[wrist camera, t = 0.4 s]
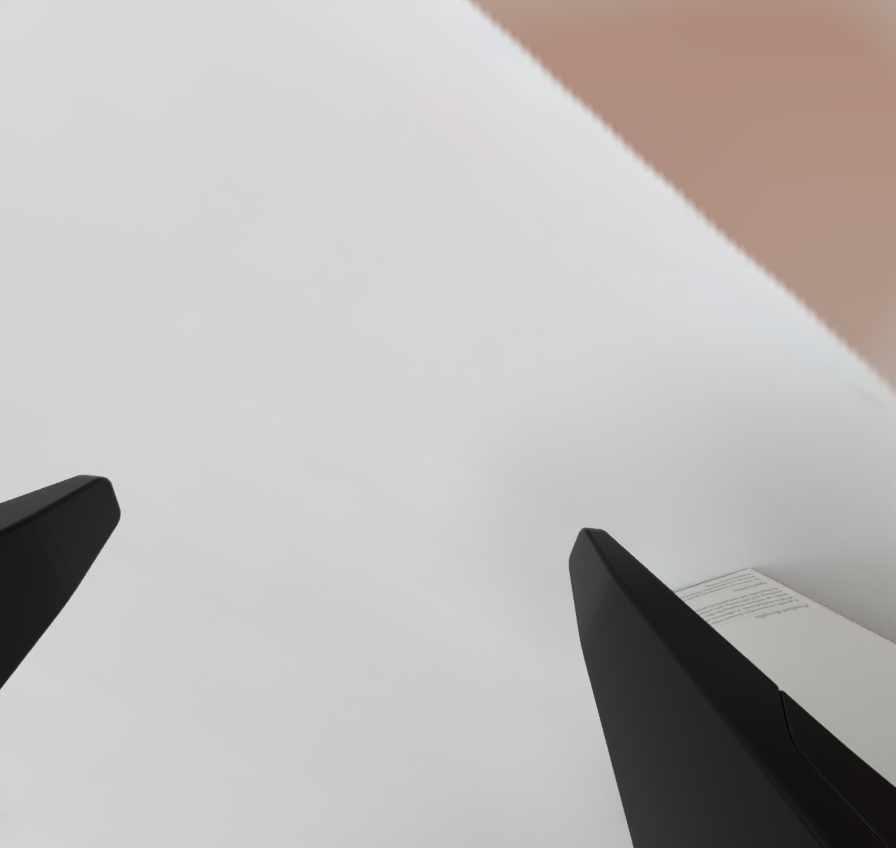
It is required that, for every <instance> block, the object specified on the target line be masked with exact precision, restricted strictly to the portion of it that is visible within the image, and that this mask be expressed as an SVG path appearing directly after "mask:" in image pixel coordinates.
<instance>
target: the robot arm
mask: <svg viewBox="0 0 896 848" xmlns="http://www.w3.org/2000/svg"><path fill="white" fill-rule="evenodd" d="M120 515H121V511H120V507H119V504H118V501H117V498H116V495H115V492H114V489H113V486H112V483H111V481H109V480H108V479H107V478H105V477H102V476H92V475H79V476H75V477H72V478H70V479H67V480H64V481H61V482H59V483H56V484H53V485H50V486H47V487H45V488H42V489H39V490H36V491H33V492H31V493H28V494H25V495H22V496H20V497H17V498H14V499H11V500H8V501H6V502H3V503H0V689H1V688H2V687H3V685H4V684H5V683H6V681H7V680H8V679H9V678H10V676H11V675H12V674H13V672H14V671H15V670H16V669H17V667H18V666H19V665H20V663H21V662H22V661H23V660H24V658H25V657H26V656H27V654H28V653H29V652H30V650H31V649H32V648H33V647H34V645H35V644H36V643H37V641H38V640H39V639H40V638H41V636H42V635H43V634H44V632H45V631H46V630H47V628H48V627H49V626H50V625H51V623H52V622H53V621H54V619H55V618H56V617H57V616H58V614H59V613H60V612H61V610H62V609H63V608H64V606H65V605H66V603H67V602H68V601H69V599H70V598H71V596H72V595H73V593H74V592H75V590H76V589H77V587H78V586H79V584H80V583H81V581H82V580H83V578H84V576H85V575H86V573H87V572H88V570H89V569H90V567H91V565H92V564H93V562H94V561H95V559H96V558H97V556H98V554H99V553H100V551H101V550H102V548H103V547H104V545H105V543H106V542H107V540H108V539H109V537H110V535H111V534H112V532H113V531H114V529H115V528H116V526H117V524H118V522H119V520H120ZM569 572H570V578H571V585H572V591H573V598H574V605H575V611H576V618H577V624H578V631H579V637H580V642H581V647H582V651H583V655H584V659H585V663H586V667H587V671H588V675H589V678H590V682H591V686H592V690H593V694H594V698H595V701H596V705H597V709H598V713H599V717H600V721H601V724H602V728H603V732H604V736H605V740H606V744H607V747H608V751H609V755H610V759H611V763H612V767H613V770H614V774H615V778H616V782H617V786H618V789H619V793H620V797H621V801H622V805H623V809H624V812H625V816H626V820H627V824H628V828H629V832H630V835H631V839H632V843H633V847H634V848H896V787H895V786H894V785H892V784H891V783H890V782H889V781H888V780H886V779H885V778H884V777H883V776H882V775H880V774H879V773H878V772H877V771H876V770H874V769H873V768H872V767H871V766H870V765H868V764H867V763H866V762H865V761H864V760H862V759H861V758H860V757H859V756H858V755H856V754H855V753H854V752H853V751H852V750H850V749H849V748H848V747H847V746H846V745H845V744H844V743H842V742H841V741H840V740H839V739H838V738H837V737H836V736H834V735H833V734H832V733H831V732H830V731H829V730H828V729H826V728H825V727H824V726H823V725H822V724H821V723H819V722H818V721H817V720H816V719H815V718H814V717H813V716H811V715H810V714H809V713H808V712H807V711H806V710H805V709H804V708H802V707H801V706H800V705H799V704H798V703H797V702H796V701H795V700H794V699H792V698H791V697H790V696H789V695H788V694H787V693H786V692H785V691H783V690H779V687H778V686H777V684H775V683H774V682H773V681H772V680H771V679H770V678H769V677H768V676H767V675H765V674H764V673H763V672H762V671H761V670H760V669H759V668H758V667H756V666H755V665H754V664H753V663H752V662H751V661H750V660H749V659H748V658H746V657H745V656H744V655H743V654H742V653H741V652H740V651H739V650H737V649H736V648H735V647H734V646H733V645H732V644H731V643H730V642H729V641H727V640H726V639H725V638H724V637H723V636H722V635H721V634H720V633H718V632H717V631H716V630H715V629H714V628H713V627H712V626H711V625H710V624H708V623H707V622H706V621H705V620H704V619H703V618H702V617H701V616H700V615H698V614H697V613H696V612H695V611H694V610H693V609H692V608H691V607H689V606H688V605H687V604H686V603H685V602H684V601H683V600H682V599H681V598H679V597H678V596H677V595H676V594H675V593H674V592H673V591H672V590H670V589H669V588H668V587H667V586H666V585H665V584H664V583H663V582H662V581H660V580H659V579H658V578H657V577H656V576H655V575H654V574H653V573H651V572H650V571H649V570H648V569H647V568H646V567H645V566H644V565H643V564H641V563H640V562H639V561H638V560H637V559H636V558H635V557H634V556H632V555H631V554H630V553H629V552H628V551H627V550H626V549H625V548H624V547H622V546H621V545H620V544H619V543H618V542H617V541H616V540H615V539H614V538H612V537H611V536H610V535H609V534H608V533H607V532H605V531H604V530H602V529H595V528H583V529H581V531H580V532H579V534H578V537H577V539H576V542H575V544H574V547H573V549H572V552H571V554H570V558H569Z"/></svg>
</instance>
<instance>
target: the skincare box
mask: <svg viewBox="0 0 896 848" xmlns="http://www.w3.org/2000/svg"><path fill="white" fill-rule="evenodd" d="M675 594H676V595H677V596H678V597H679V598H681V599H682V600H683V601H684V602H685V603H686V604H687V605H688V606H689V607H691V608H692V609H693V610H694V611H695V612H696V613H697V614H698V615H700V616H701V617H702V618H703V619H704V620H705V621H706V622H707V623H708V624H710V625H711V626H712V627H713V628H714V629H715V630H716V631H717V632H718V633H720V634H721V635H722V636H723V637H724V638H725V639H726V640H727V641H729V642H730V643H731V644H732V645H733V646H734V647H735V648H736V649H737V650H739V651H740V652H741V653H742V654H743V655H744V656H745V657H746V658H748V659H749V660H750V661H751V662H752V663H753V664H754V665H755V666H756V667H758V668H759V669H760V670H761V671H762V672H763V673H764V674H765V675H767V676H768V677H769V678H770V679H771V680H772V681H773V682H774V683H775V684H777V686H778V687H779V690H783V691H785V692H786V693H787V694H788V695H789V696H790V697H791V698H792V699H794V700H795V701H796V702H797V703H798V704H799V705H800V706H801V707H802V708H804V709H805V710H806V711H807V712H808V713H809V714H810V715H811V716H813V717H814V718H815V719H816V720H817V721H818V722H819V723H821V724H822V725H823V726H824V727H825V728H826V729H828V730H829V731H830V732H831V733H832V734H833V735H834V736H836V737H837V738H838V739H839V740H840V741H841V742H842V743H844V744H845V745H846V746H847V747H848V748H849V749H850V750H852V751H853V752H854V753H855V754H856V755H858V756H859V757H860V758H861V759H862V760H864V761H865V762H866V763H867V764H868V765H870V766H871V767H872V768H873V769H874V770H876V771H877V772H878V773H879V774H880V775H882V776H883V777H884V778H885V779H886V780H888V781H889V782H890V783H891V784H892V785H894V786H895V787H896V644H895V643H893V642H891V641H889V640H887V639H885V638H883V637H881V636H879V635H878V634H876V633H874V632H872V631H870V630H868V629H866V628H864V627H862V626H860V625H858V624H857V623H855V622H853V621H851V620H849V619H847V618H845V617H843V616H841V615H839V614H838V613H836V612H834V611H832V610H830V609H828V608H826V607H824V606H822V605H821V604H819V603H817V602H815V601H813V600H811V599H809V598H807V597H805V596H803V595H801V594H799V593H797V592H796V591H794V590H792V589H790V588H788V587H786V586H784V585H782V584H781V583H779V582H777V581H775V580H773V579H771V578H769V577H767V576H765V575H763V574H761V573H759V572H757V571H756V570H754V569H752V568H748V569H745V570H742V571H739V572H736V573H733V574H730V575H727V576H724V577H721V578H718V579H715V580H712V581H709V582H705V583H702V584H699V585H696V586H693V587H690V588H687V589H684V590H681V591H678V592H675Z"/></svg>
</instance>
